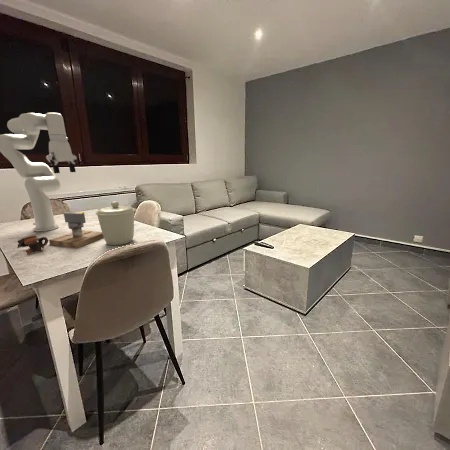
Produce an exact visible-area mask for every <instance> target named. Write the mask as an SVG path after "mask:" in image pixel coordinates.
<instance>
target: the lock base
mask: <svg viewBox="0 0 450 450" xmlns="http://www.w3.org/2000/svg"><path fill="white" fill-rule="evenodd" d="M82 228H83V227H82ZM82 228H78V229H71V232H68V233H66V234H62V235H60V236H56V237H54V238H50V239H48V243H49V245H51V246H58V247H66V248H75V249H78V248H81V247H84V246H86V245H89V244H91V243H93V242H96V241H98V240H101V239H104V237H103V234H102V231H93V230H82Z"/></svg>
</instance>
